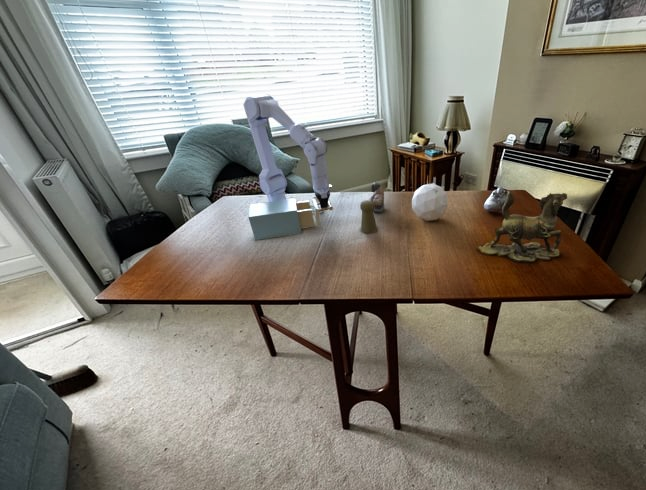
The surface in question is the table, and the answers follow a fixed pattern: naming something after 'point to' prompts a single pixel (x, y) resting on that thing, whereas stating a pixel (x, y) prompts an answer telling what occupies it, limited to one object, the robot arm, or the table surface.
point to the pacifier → (317, 205)
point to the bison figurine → (377, 197)
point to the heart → (496, 200)
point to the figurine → (528, 232)
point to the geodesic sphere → (429, 202)
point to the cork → (368, 217)
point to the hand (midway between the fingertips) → (324, 209)
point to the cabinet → (274, 219)
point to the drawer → (309, 213)
